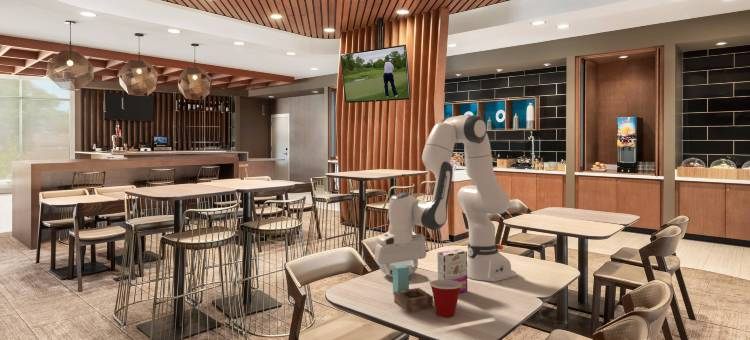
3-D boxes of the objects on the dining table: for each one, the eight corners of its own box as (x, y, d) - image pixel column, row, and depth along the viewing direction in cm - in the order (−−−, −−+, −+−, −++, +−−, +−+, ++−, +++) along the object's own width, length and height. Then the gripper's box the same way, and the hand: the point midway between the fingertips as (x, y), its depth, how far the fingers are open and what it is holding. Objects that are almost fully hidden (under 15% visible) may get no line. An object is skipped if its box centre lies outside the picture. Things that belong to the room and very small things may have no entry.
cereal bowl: (424, 273, 205) (424, 258, 205) (406, 284, 191) (406, 267, 191) (391, 267, 214) (391, 252, 214) (371, 277, 200) (371, 261, 200)
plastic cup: (461, 311, 162) (461, 278, 161) (462, 324, 152) (462, 288, 151) (430, 309, 164) (430, 276, 163) (428, 322, 154) (428, 286, 153)
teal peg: (403, 295, 179) (403, 264, 178) (408, 299, 175) (408, 267, 174) (392, 296, 177) (392, 266, 176) (398, 300, 173) (397, 269, 172)
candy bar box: (459, 288, 186) (460, 248, 185) (467, 292, 181) (468, 251, 180) (436, 293, 181) (436, 251, 179) (444, 297, 176) (444, 254, 175)
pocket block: (419, 300, 173) (419, 287, 172) (432, 310, 163) (432, 296, 163) (394, 304, 169) (394, 291, 168) (406, 315, 160) (406, 301, 159)
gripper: (421, 231, 181) (421, 266, 182) (372, 237, 173) (373, 273, 174) (429, 235, 175) (429, 271, 176) (379, 241, 167) (380, 278, 168)
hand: (401, 272), depth 175 cm, fingers open, 8 cm apart
